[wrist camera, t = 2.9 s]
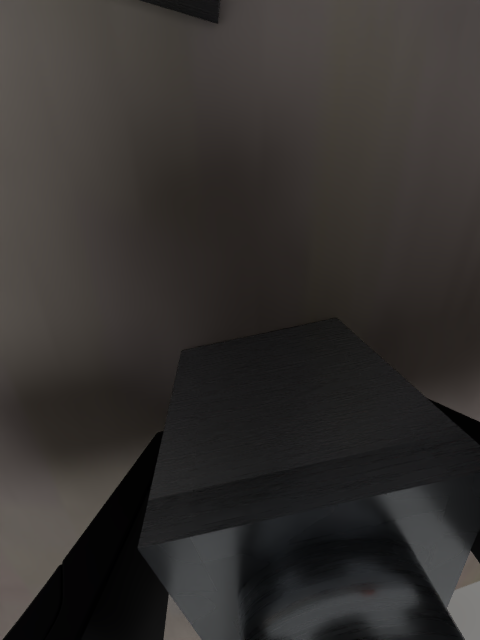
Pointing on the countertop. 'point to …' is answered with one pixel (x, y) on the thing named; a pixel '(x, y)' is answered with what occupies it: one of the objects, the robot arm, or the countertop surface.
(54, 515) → the countertop surface
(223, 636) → the dark grey block
